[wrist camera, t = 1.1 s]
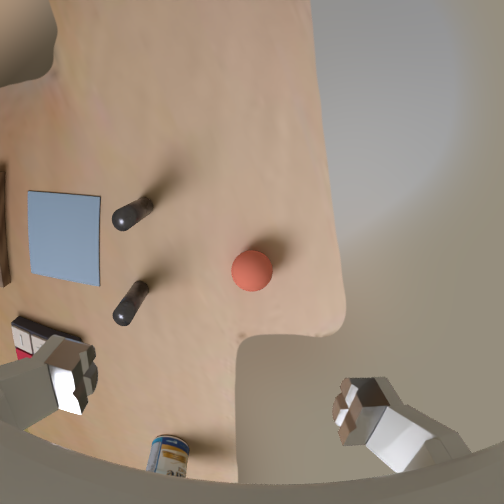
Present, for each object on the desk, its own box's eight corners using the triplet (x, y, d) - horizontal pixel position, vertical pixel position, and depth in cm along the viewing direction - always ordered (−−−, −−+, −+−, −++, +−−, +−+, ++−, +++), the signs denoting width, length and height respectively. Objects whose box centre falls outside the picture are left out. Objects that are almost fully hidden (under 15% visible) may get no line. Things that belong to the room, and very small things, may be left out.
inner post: (136, 196, 41) (112, 207, 33) (153, 198, 42) (133, 209, 33) (135, 214, 42) (111, 229, 34) (152, 216, 42) (132, 232, 34)
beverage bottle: (146, 434, 56) (127, 509, 37) (182, 432, 56) (170, 512, 37) (161, 456, 58) (147, 526, 39) (195, 454, 58) (188, 529, 39)
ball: (234, 242, 44) (234, 255, 39) (273, 248, 45) (278, 261, 39) (229, 279, 46) (228, 295, 40) (267, 283, 46) (270, 300, 41)
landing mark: (28, 191, 40) (27, 191, 40) (100, 197, 41) (99, 197, 41) (32, 272, 44) (31, 272, 44) (99, 285, 45) (99, 286, 45)
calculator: (8, 323, 43) (71, 350, 44) (20, 313, 48) (81, 337, 48) (17, 367, 47) (76, 394, 47) (27, 356, 51) (85, 381, 52)
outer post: (132, 279, 45) (112, 306, 37) (148, 282, 45) (131, 310, 37) (132, 295, 46) (113, 324, 37) (148, 297, 46) (131, 327, 38)
